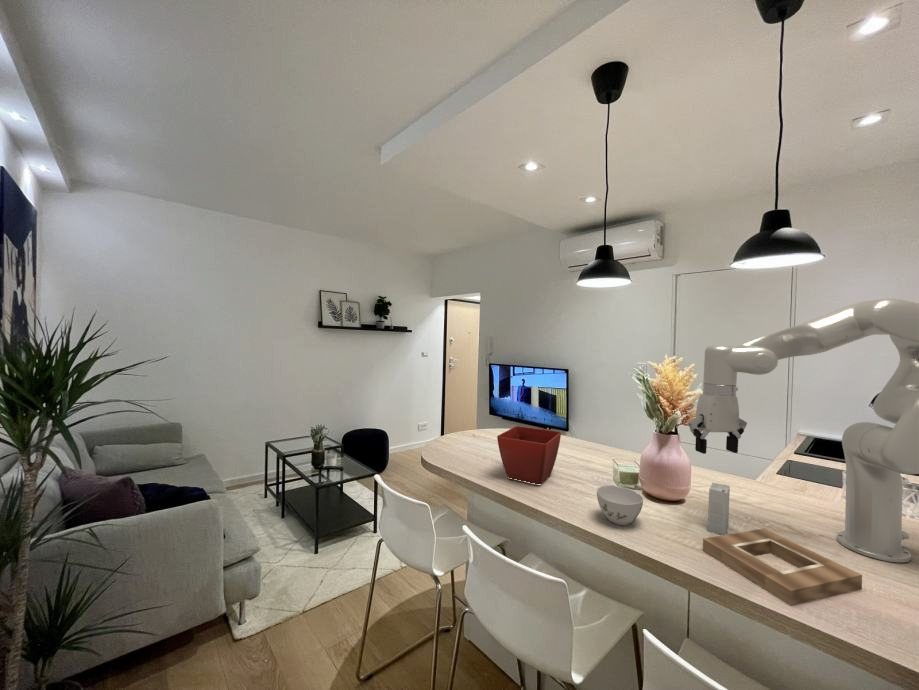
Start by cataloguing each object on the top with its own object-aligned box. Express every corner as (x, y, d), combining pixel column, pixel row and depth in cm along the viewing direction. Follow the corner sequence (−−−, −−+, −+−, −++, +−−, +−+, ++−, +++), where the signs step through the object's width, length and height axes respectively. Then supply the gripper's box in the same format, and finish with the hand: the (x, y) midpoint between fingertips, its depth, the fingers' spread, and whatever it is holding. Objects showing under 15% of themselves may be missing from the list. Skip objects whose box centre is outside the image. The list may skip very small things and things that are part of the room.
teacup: (628, 536, 100) (629, 507, 100) (587, 518, 110) (587, 491, 110) (655, 519, 110) (655, 492, 109) (614, 504, 119) (615, 480, 119)
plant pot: (545, 491, 130) (545, 443, 129) (495, 480, 140) (496, 436, 139) (561, 474, 146) (561, 431, 146) (516, 466, 156) (516, 425, 156)
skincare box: (710, 523, 108) (710, 481, 107) (729, 528, 105) (730, 485, 104) (707, 531, 103) (707, 487, 103) (726, 537, 100) (727, 492, 100)
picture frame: (764, 539, 99) (764, 528, 99) (861, 588, 79) (862, 574, 79) (702, 550, 94) (702, 538, 94) (791, 605, 74) (791, 590, 74)
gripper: (734, 388, 108) (732, 447, 109) (681, 388, 106) (678, 448, 106) (759, 392, 101) (756, 455, 101) (701, 392, 98) (698, 456, 99)
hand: (716, 451), depth 104 cm, fingers open, 9 cm apart
